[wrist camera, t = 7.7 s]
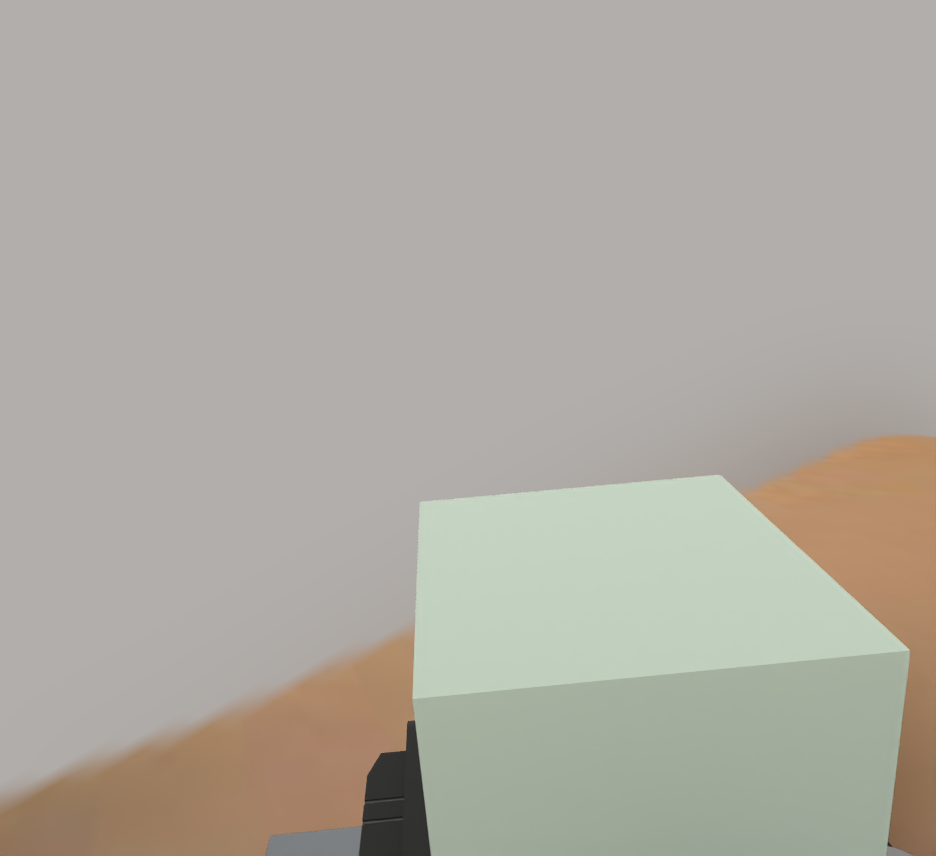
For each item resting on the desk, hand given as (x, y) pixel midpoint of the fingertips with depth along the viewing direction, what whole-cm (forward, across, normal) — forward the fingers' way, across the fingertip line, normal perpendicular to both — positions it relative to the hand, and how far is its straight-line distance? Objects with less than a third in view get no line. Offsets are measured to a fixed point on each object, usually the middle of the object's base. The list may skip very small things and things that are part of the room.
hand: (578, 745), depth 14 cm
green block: (-3, 0, +7) cm, 7 cm away
